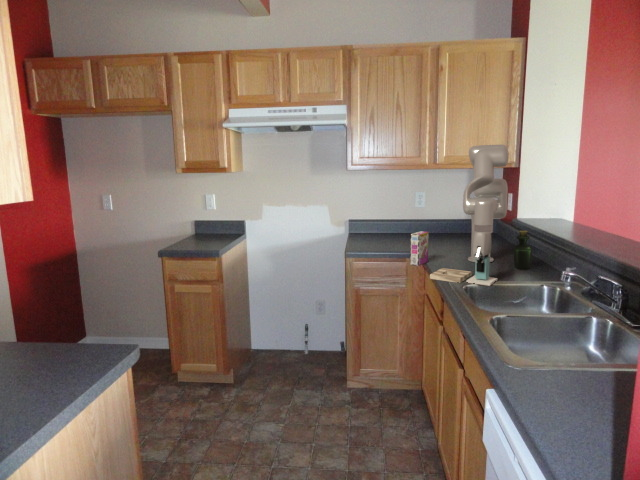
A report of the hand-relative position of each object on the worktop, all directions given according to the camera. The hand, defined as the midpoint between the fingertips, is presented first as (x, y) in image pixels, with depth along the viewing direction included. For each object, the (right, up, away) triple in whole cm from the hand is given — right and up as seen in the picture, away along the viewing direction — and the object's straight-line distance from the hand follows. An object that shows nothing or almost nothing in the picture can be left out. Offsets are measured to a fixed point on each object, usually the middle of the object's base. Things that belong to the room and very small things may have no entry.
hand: (482, 270), depth 190 cm
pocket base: (-11, -4, +9) cm, 15 cm away
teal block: (0, -3, +1) cm, 3 cm away
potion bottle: (+27, -1, +21) cm, 34 cm away
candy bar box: (-18, 0, +38) cm, 42 cm away
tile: (0, -5, +1) cm, 5 cm away
